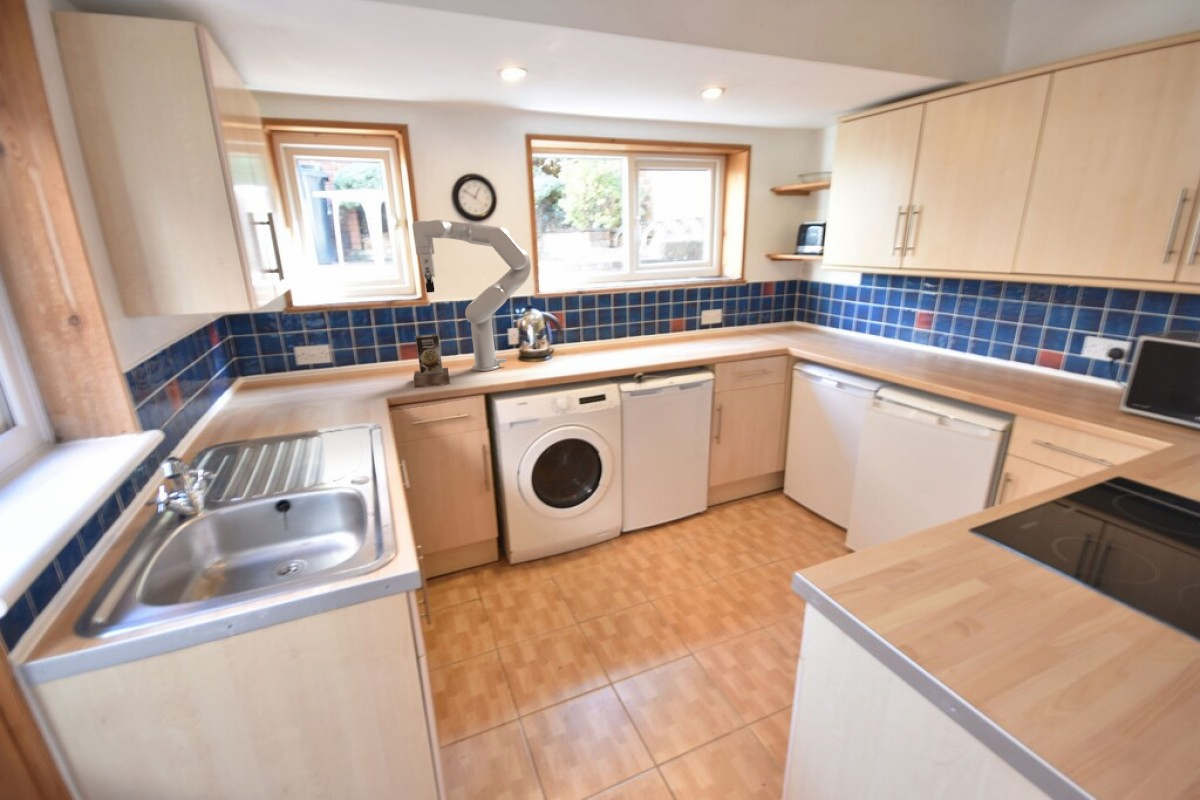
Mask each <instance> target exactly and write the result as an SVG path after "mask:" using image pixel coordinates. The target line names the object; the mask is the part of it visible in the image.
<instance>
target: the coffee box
mask: <svg viewBox="0 0 1200 800" xmlns="http://www.w3.org/2000/svg"><path fill="white" fill-rule="evenodd" d="M415 343H416V344H415V345H416V350H417V358H418V364H419V365H418V366H419V371H420V373H421V375H430V374H438V373H443V369H442V368H443V364H442V356H441V355H442V354H441V348H440V340H439V335H438V333H433V334H432V333H430V334H420V335H419V334H418V335H415Z"/></svg>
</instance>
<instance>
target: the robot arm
mask: <svg viewBox="0 0 1200 800" xmlns="http://www.w3.org/2000/svg"><path fill="white" fill-rule="evenodd" d="M411 227H412V232H413V240H414V246H415V254H416V256H419V260H420V266H421V272H422V276H423V278H424V279H425V289H426V290H425V291H426V293H435V283H434V280H433V278H436V270H435V262H434V258H433V255H435V248H434V247H435V246H434V240H433V239H450V240H457V241H463V242H465V243H466V242H467V243H468V244H472V245H477V246H486V247H492V248H493V249H494V251H495V252H496V253H497V254H498V255H499V256H500V258H501V259H502V260H503V261H504V263H505V264H507V266H508V267H509V270H508V271H507V272H506V273H505V274H503V276H501V277H500V278H499V279H498V280H497V281H495V282H494V283H493V284H491V285H490V286H488V287H487V288H486V289H484V290H483V292H481V293H480V294H479V295H478V296H477V297H476V298H475V299H473V300H472V301H471V302H470V303H469V304H468V305H467V306H466V308H465V312H464V313H465V314H464V315H465V318H466V319H467V321H468V322H470V329H471V338H472V347H473V355H474V365H472V367H471V369H472V370H473V371H475V372H488V371H494V370H497V369H499V368H500V367H501V364H504V363H507V358H503V357H500V358H498V357H497V356H496V349H495V347H496V346H495V338H494V328H493V314H494V313H496V312H497V311H498V310H499V309H500V308H501V307H502V306H503V305H504V304H505V303H506V302H507V300H508V299H510V297H511V296H513V294H515V293H516V292H517V291H518V290H519V289H520V288H521V287H523V285H524V284H525V282H526V281H527V279H528V278H529V276H530V273H531V269H532V267H531V266H532V265H531V264H532V263H531V259H530V256H529V253H528V252H527V251H526V250H524V249H522V248H520V247H519V246H518V245H517V243H515V241H514V240H513V239H512V238H511V234H510V231H509V230H508V229H507V228H505V227H502V226H501V227H500V226H493V225H488V224H480V223H473V222H470V223H467V222H460V221H458V222H457V221H451V220H447V219H446V220H445V219H433V220H429V221H428V220H416V221H413V222H412V225H411Z"/></svg>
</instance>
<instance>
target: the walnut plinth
mask: <svg viewBox="0 0 1200 800" xmlns="http://www.w3.org/2000/svg"><path fill="white" fill-rule="evenodd" d="M442 369H443V373H438V374H430V375H421V373H420V370H415V371H414V372H413V373H414V374H413V383H414V388H415V389H417V388H425V387H426V386H427V387H434V385H435V386H442V385H441V384H444V385H450V384H451V382H450V373H449V368H448V367H442Z"/></svg>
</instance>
